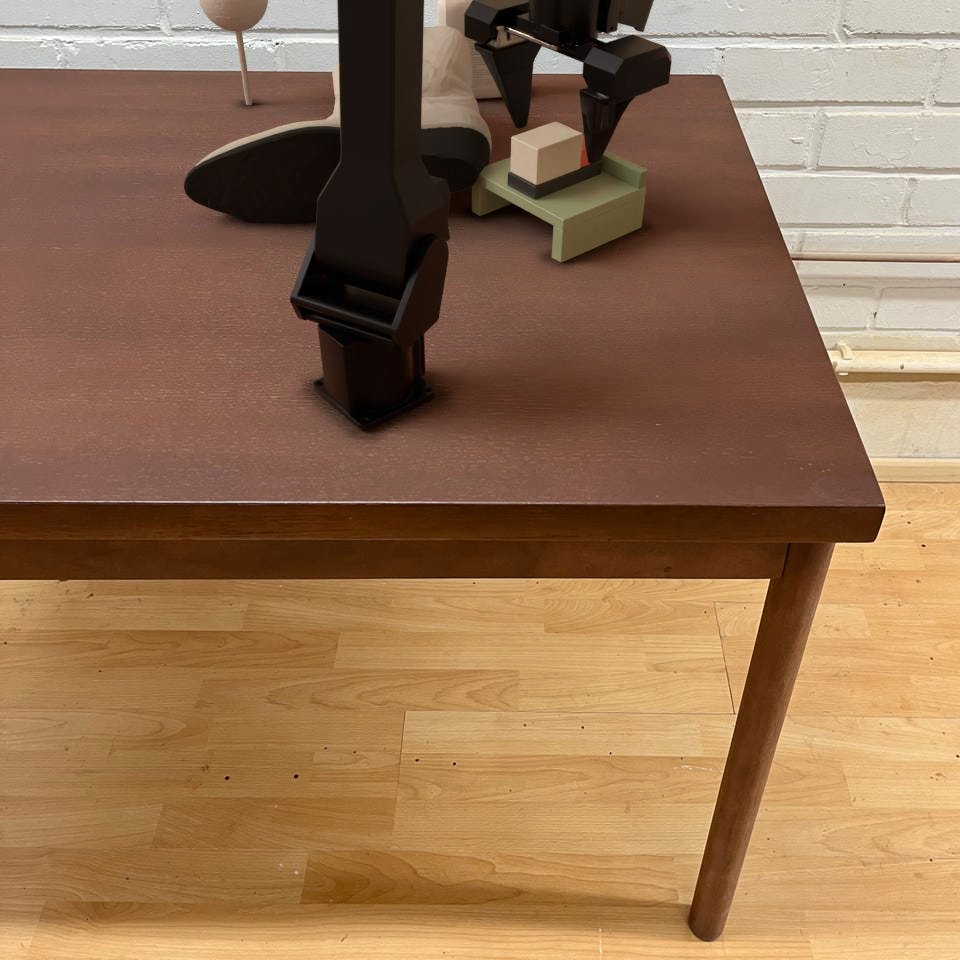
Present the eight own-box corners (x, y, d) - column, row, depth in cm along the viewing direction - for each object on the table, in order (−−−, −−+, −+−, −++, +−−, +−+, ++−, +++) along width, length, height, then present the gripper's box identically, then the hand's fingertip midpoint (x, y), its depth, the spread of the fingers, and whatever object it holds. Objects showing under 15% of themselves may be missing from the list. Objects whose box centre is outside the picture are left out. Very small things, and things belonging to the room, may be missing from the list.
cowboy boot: (497, 133, 85) (484, 9, 102) (167, 132, 84) (209, 7, 100) (493, 229, 92) (481, 98, 109) (189, 230, 90) (225, 97, 107)
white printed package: (522, 84, 116) (527, -32, 108) (531, 98, 113) (536, -21, 105) (434, 90, 114) (432, -28, 106) (441, 104, 111) (439, -15, 103)
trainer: (534, 200, 86) (537, 150, 83) (507, 185, 88) (508, 136, 85) (601, 174, 90) (605, 125, 87) (573, 160, 92) (576, 112, 89)
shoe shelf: (560, 263, 86) (564, 203, 82) (471, 211, 93) (471, 154, 89) (641, 227, 91) (649, 169, 87) (551, 181, 97) (554, 125, 94)
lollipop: (258, 86, 115) (238, -58, 105) (294, 105, 111) (277, -44, 101) (204, 102, 111) (178, -46, 101) (239, 122, 107) (215, -30, 97)
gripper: (733, -46, 75) (701, 155, 85) (561, -95, 85) (551, 90, 96) (629, -18, 69) (608, 193, 80) (459, -74, 80) (460, 119, 90)
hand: (556, 144), depth 87 cm, fingers open, 9 cm apart
